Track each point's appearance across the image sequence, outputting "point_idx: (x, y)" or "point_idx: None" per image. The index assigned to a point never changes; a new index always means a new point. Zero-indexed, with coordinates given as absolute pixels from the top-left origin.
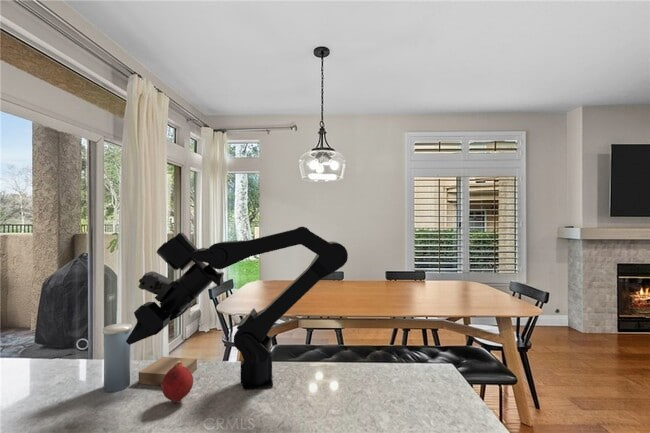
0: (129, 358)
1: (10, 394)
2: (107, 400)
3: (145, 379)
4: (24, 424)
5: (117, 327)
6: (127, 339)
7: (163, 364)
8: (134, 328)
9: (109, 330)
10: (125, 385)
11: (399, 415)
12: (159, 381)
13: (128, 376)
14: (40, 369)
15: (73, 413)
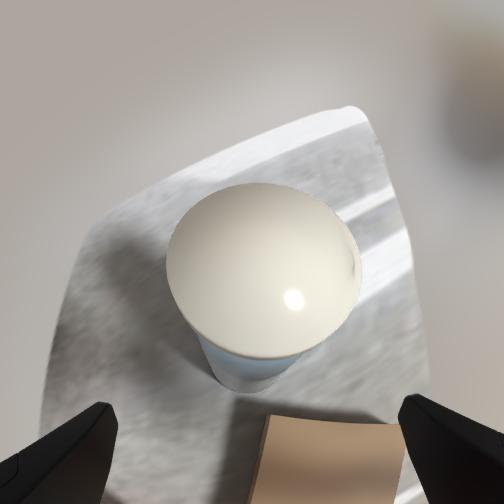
0: (256, 382)
1: (224, 155)
2: (158, 370)
3: (262, 440)
4: (90, 244)
5: (248, 261)
6: (86, 412)
7: (340, 468)
8: (5, 463)
9: (173, 241)
10: (231, 389)
11: None
12: (251, 487)
13: (246, 390)
14: (333, 145)
15: (106, 315)
